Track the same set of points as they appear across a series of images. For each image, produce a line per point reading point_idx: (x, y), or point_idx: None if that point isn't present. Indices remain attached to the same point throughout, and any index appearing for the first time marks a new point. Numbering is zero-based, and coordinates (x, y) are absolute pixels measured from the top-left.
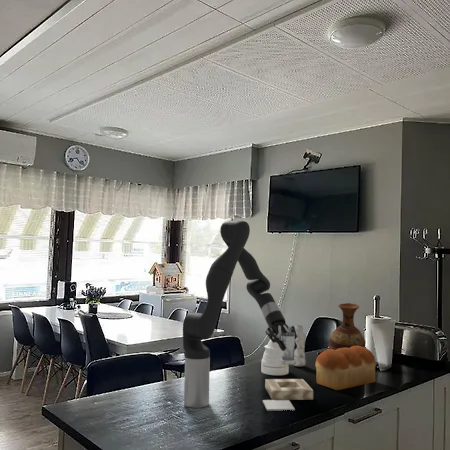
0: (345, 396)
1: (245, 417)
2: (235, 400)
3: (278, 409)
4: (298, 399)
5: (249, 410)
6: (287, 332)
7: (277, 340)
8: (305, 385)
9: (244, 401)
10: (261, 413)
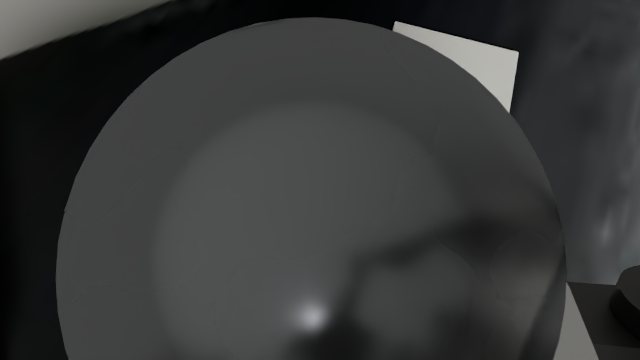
0: (30, 127)
1: (625, 16)
2: (627, 233)
3: (467, 40)
4: None
5: (590, 82)
6: (313, 338)
7: (577, 286)
8: None
9: (584, 204)
10: (548, 36)
